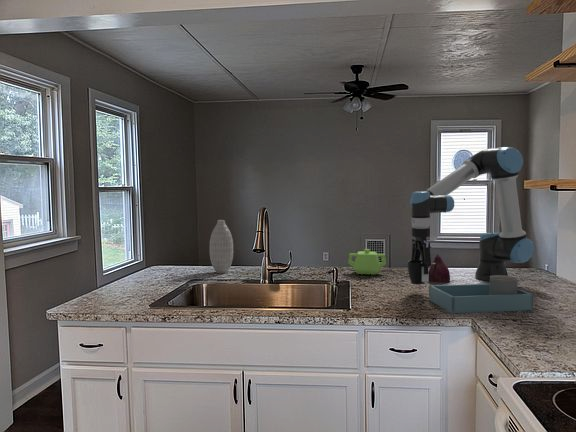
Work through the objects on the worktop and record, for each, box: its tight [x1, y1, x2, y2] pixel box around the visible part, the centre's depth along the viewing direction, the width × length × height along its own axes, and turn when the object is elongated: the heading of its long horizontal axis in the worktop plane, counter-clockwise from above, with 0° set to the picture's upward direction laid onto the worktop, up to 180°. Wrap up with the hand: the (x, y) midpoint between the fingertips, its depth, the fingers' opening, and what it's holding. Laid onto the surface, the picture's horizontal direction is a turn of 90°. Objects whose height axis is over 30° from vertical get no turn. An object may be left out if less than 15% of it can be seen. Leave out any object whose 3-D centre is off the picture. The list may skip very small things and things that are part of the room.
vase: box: [209, 219, 234, 274], centre depth 255 cm, size 13×13×28 cm
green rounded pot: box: [347, 248, 387, 276], centre depth 253 cm, size 18×20×13 cm
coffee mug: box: [489, 275, 519, 295], centre depth 186 cm, size 13×10×10 cm
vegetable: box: [429, 253, 451, 284], centre depth 231 cm, size 10×10×15 cm
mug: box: [407, 259, 437, 285], centre depth 205 cm, size 8×12×10 cm
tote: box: [428, 283, 534, 314], centre depth 186 cm, size 32×20×6 cm, turn 97°
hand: (421, 279), depth 206 cm, fingers closed on mug, 8 cm apart
